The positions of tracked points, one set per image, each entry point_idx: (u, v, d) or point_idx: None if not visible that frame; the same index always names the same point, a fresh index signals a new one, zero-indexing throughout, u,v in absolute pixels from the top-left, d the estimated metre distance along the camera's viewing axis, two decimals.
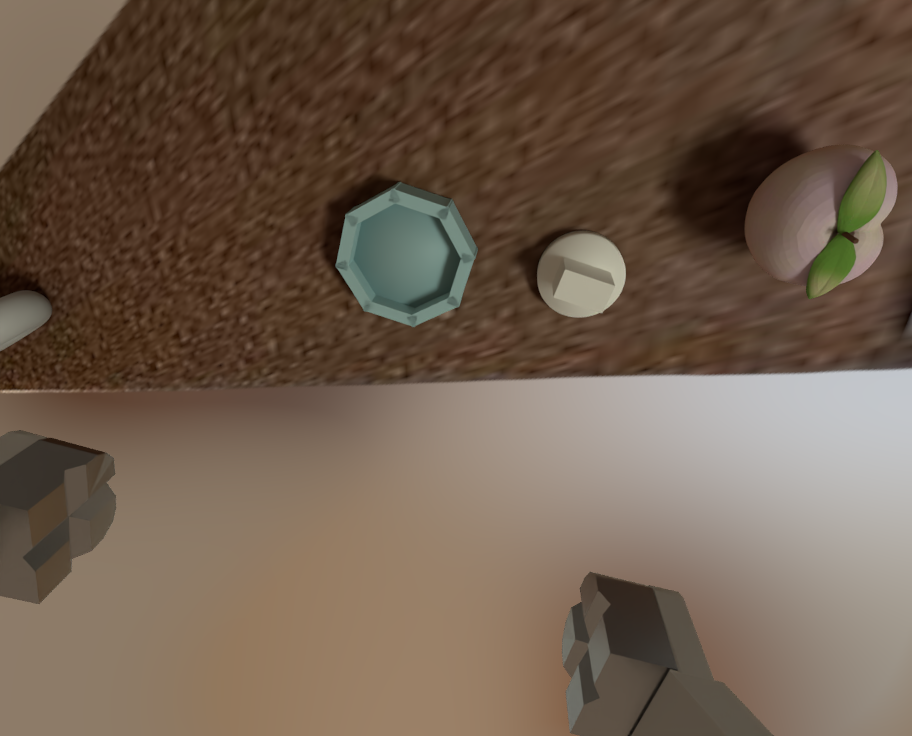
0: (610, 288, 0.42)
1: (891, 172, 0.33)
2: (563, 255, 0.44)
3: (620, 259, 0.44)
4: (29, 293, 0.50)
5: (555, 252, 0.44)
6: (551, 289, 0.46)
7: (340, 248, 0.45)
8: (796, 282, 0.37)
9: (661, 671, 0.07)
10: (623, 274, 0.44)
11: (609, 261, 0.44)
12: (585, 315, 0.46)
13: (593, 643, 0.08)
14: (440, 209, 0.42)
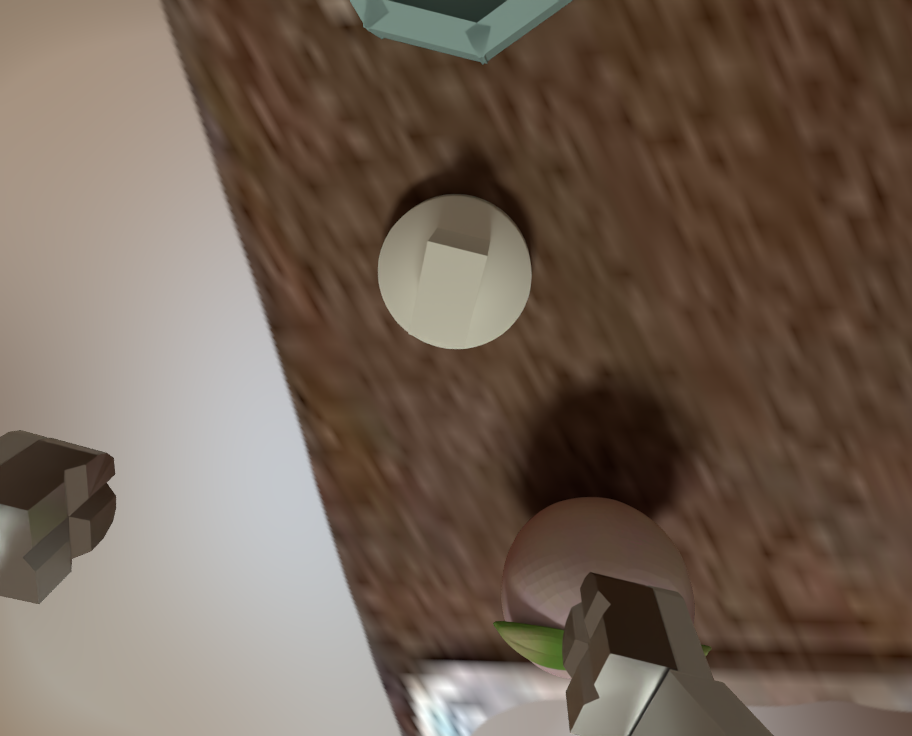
0: (458, 340, 0.23)
1: None
2: (491, 240, 0.24)
3: (492, 336, 0.26)
4: None
5: (496, 225, 0.24)
6: (425, 228, 0.24)
7: None
8: (513, 600, 0.25)
9: (661, 671, 0.07)
10: (467, 345, 0.26)
11: (488, 319, 0.26)
12: (384, 295, 0.26)
13: (593, 643, 0.08)
14: None
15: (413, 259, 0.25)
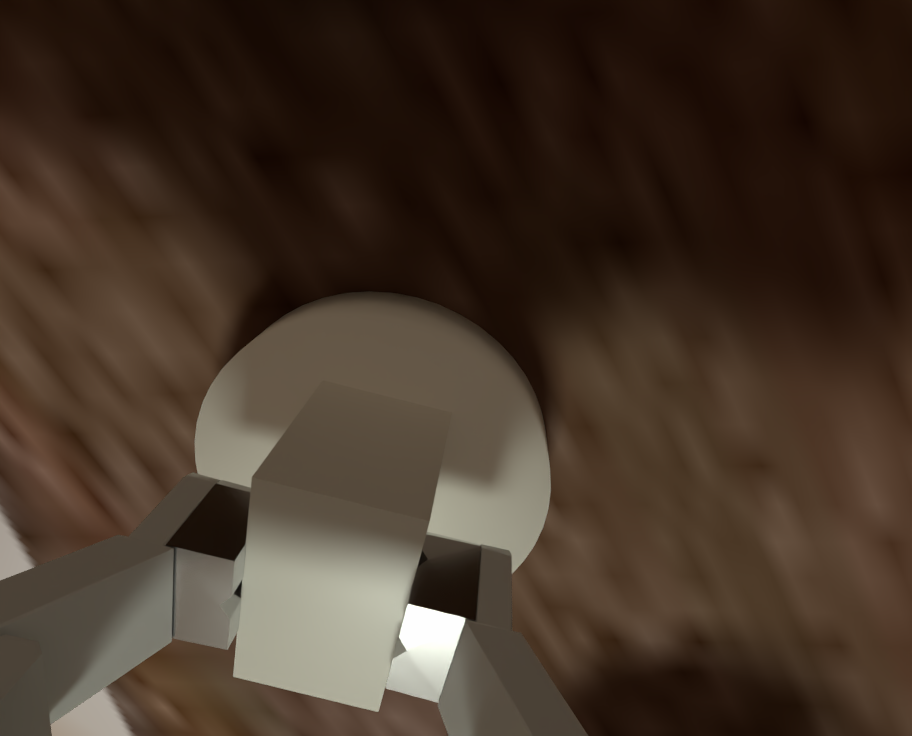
0: (362, 697, 0.09)
1: None
2: (456, 412, 0.10)
3: None
4: None
5: (466, 380, 0.10)
6: (294, 380, 0.10)
7: None
8: None
9: (460, 621, 0.07)
10: None
11: None
12: None
13: None
14: None
15: (273, 445, 0.11)
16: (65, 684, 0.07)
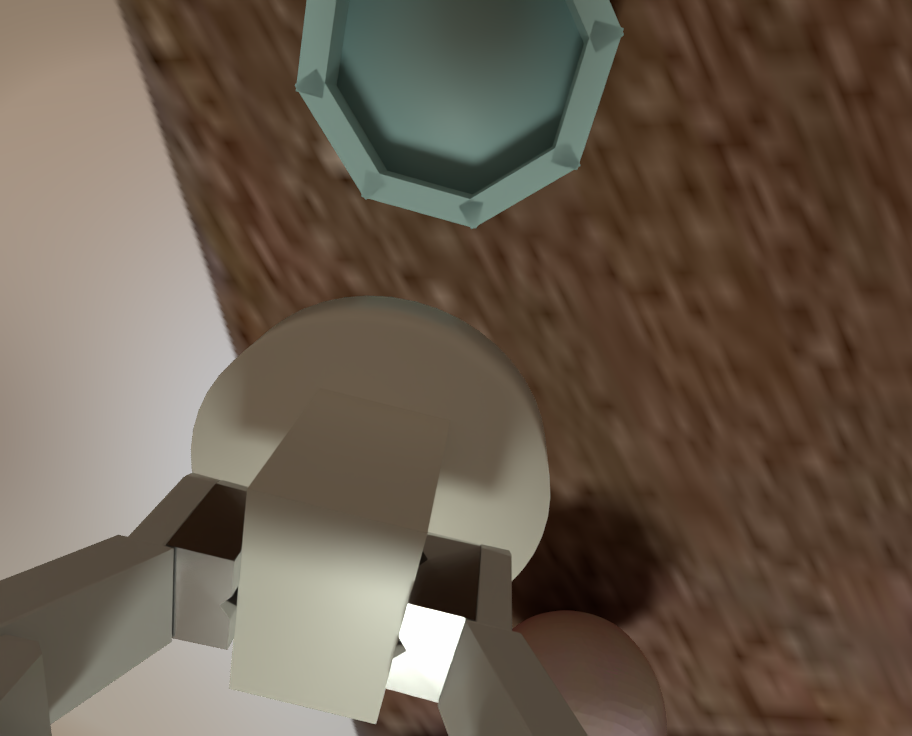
0: (359, 709, 0.09)
1: None
2: (454, 420, 0.10)
3: None
4: None
5: (465, 387, 0.10)
6: (291, 388, 0.10)
7: None
8: None
9: (460, 622, 0.07)
10: None
11: None
12: None
13: None
14: (573, 150, 0.20)
15: (270, 453, 0.11)
16: (65, 684, 0.07)
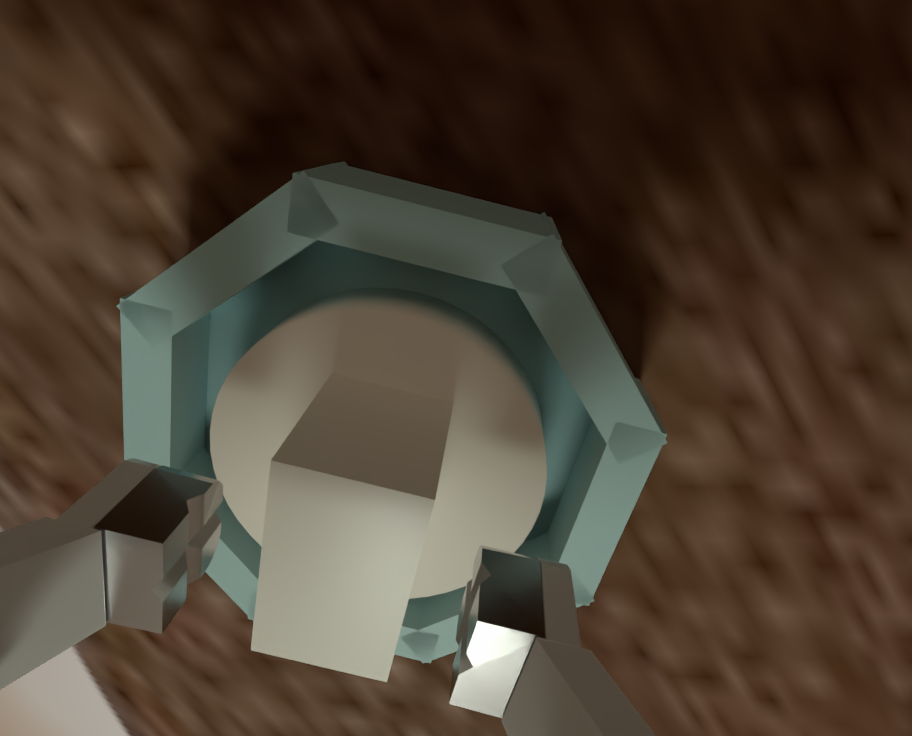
0: (371, 668, 0.09)
1: None
2: (457, 402, 0.11)
3: (463, 579, 0.12)
4: None
5: (467, 372, 0.10)
6: (304, 373, 0.11)
7: (391, 203, 0.09)
8: None
9: (529, 639, 0.07)
10: (412, 593, 0.13)
11: (453, 550, 0.12)
12: (232, 501, 0.12)
13: (471, 613, 0.08)
14: (583, 582, 0.12)
15: (284, 435, 0.11)
16: None
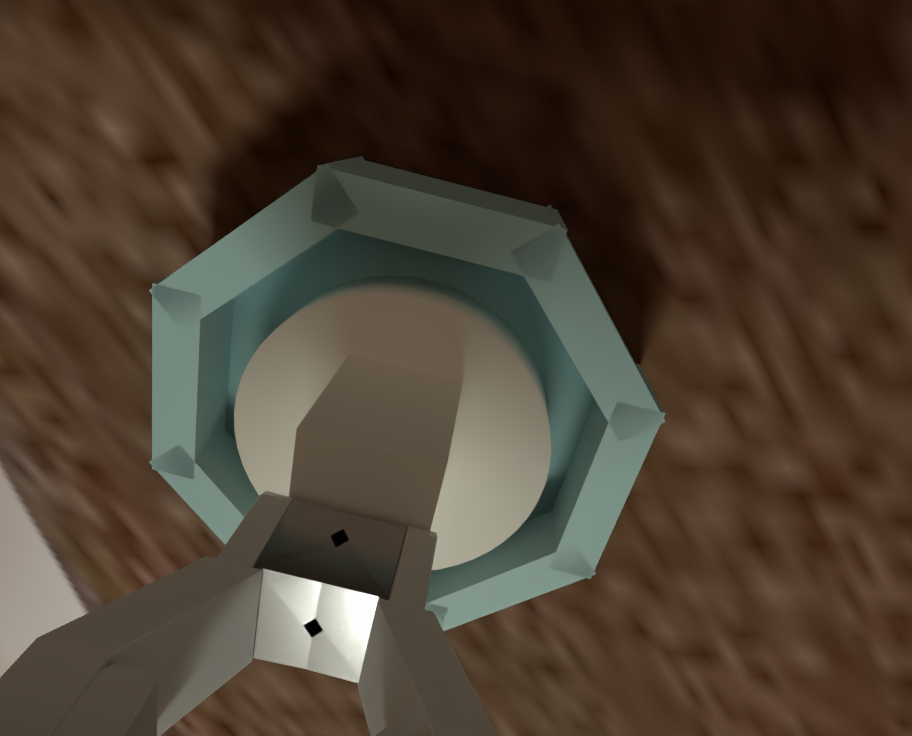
0: None
1: None
2: (466, 381, 0.11)
3: (473, 552, 0.13)
4: None
5: (475, 352, 0.11)
6: (323, 355, 0.11)
7: (408, 194, 0.10)
8: None
9: (372, 601, 0.07)
10: None
11: (462, 524, 0.13)
12: (254, 478, 0.13)
13: None
14: (585, 555, 0.13)
15: (304, 414, 0.12)
16: (161, 707, 0.07)
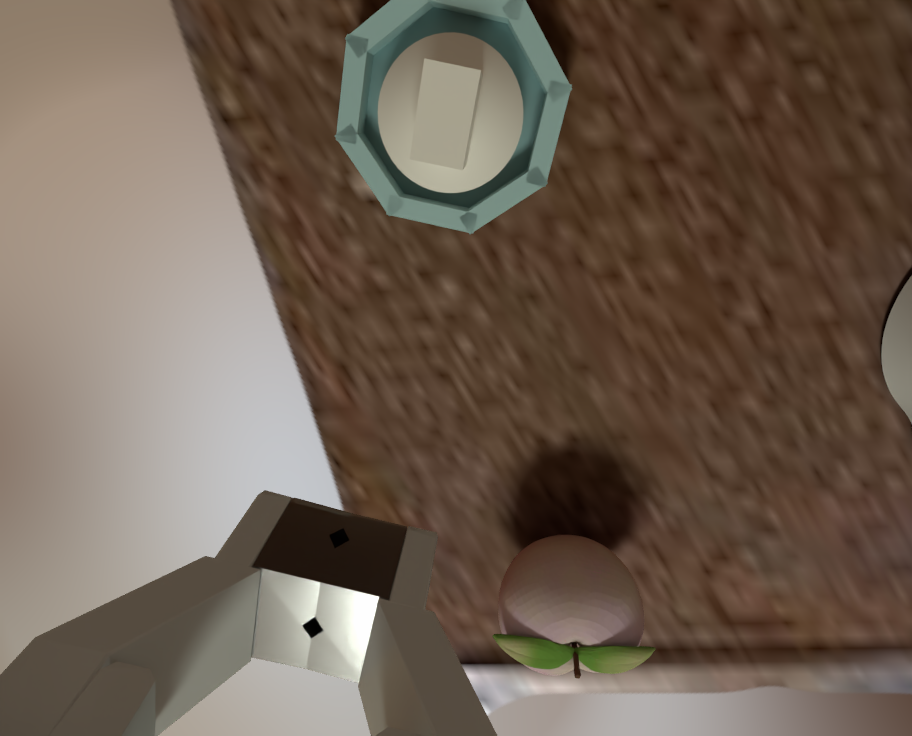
0: (456, 163, 0.25)
1: None
2: (484, 75, 0.26)
3: (489, 176, 0.28)
4: None
5: (488, 59, 0.25)
6: (421, 66, 0.26)
7: None
8: (507, 618, 0.33)
9: (373, 600, 0.07)
10: (465, 188, 0.28)
11: (484, 159, 0.27)
12: (385, 141, 0.27)
13: None
14: (542, 172, 0.27)
15: (411, 100, 0.26)
16: (159, 707, 0.07)
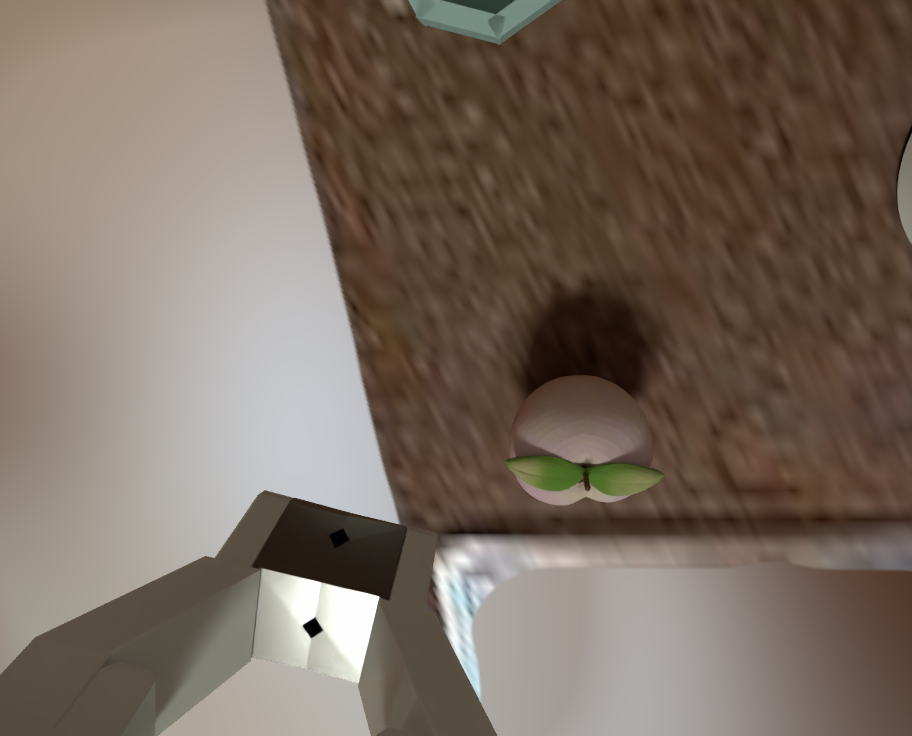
0: None
1: None
2: None
3: None
4: None
5: None
6: None
7: None
8: (519, 444, 0.34)
9: (373, 600, 0.07)
10: None
11: None
12: None
13: None
14: None
15: None
16: (159, 707, 0.07)
